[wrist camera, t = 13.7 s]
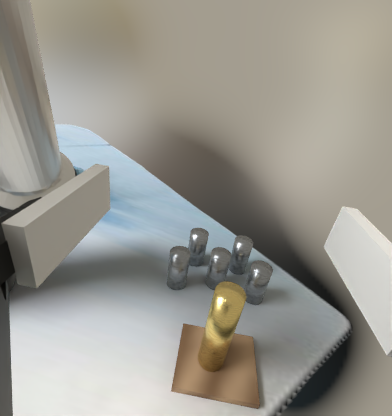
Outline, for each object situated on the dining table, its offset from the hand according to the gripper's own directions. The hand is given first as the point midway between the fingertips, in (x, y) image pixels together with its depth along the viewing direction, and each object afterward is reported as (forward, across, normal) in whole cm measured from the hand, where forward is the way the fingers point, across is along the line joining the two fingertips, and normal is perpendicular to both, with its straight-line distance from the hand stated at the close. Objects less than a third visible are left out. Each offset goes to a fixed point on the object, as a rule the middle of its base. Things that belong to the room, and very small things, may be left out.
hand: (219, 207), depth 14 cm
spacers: (+30, +4, -32) cm, 44 cm away
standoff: (+11, +4, -31) cm, 33 cm away
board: (+11, +5, -32) cm, 34 cm away
